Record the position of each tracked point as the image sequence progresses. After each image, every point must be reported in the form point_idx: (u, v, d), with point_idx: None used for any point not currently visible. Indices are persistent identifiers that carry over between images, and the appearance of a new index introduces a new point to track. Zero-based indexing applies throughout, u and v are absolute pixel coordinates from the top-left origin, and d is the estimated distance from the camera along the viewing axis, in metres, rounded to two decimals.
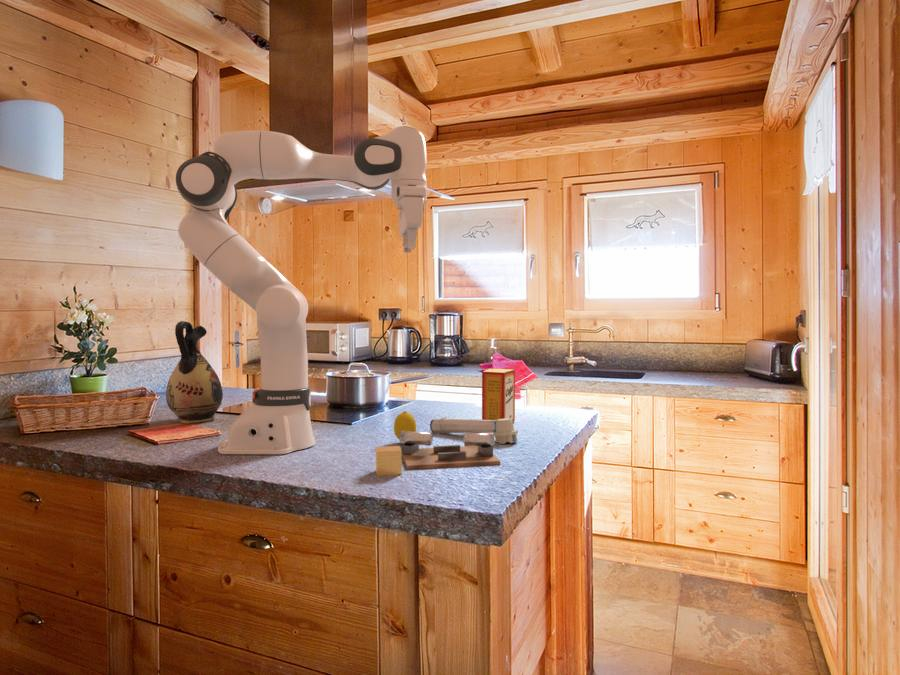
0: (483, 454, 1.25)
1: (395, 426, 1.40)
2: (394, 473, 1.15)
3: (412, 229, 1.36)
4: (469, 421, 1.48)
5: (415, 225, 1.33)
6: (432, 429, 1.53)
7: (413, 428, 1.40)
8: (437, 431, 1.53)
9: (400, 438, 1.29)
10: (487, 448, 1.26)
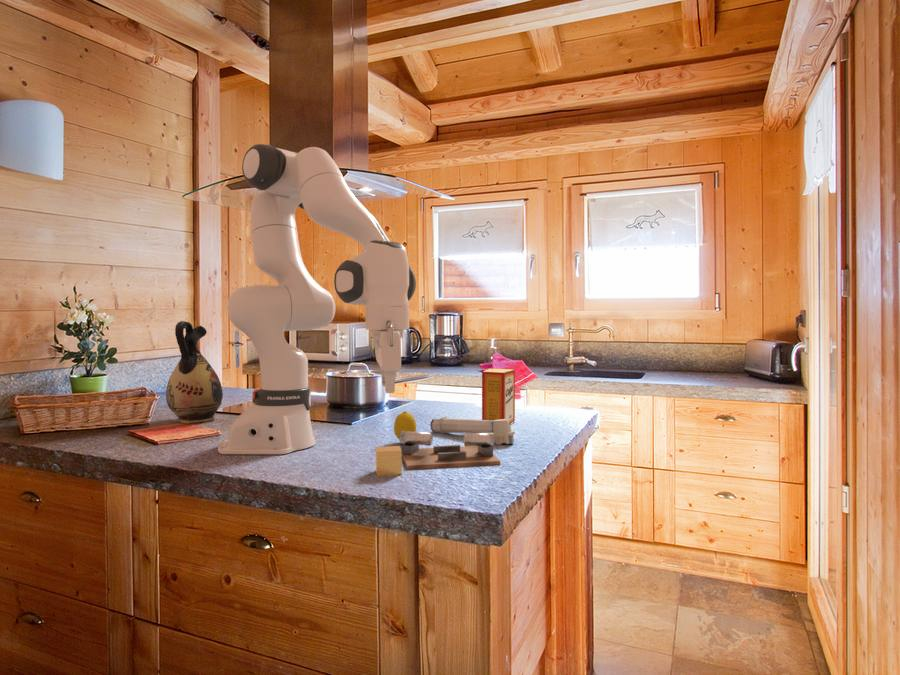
0: (483, 454, 1.25)
1: (395, 426, 1.40)
2: (394, 473, 1.15)
3: None
4: (467, 421, 1.47)
5: None
6: (432, 429, 1.54)
7: (413, 428, 1.40)
8: (437, 431, 1.53)
9: (400, 438, 1.29)
10: (487, 448, 1.26)
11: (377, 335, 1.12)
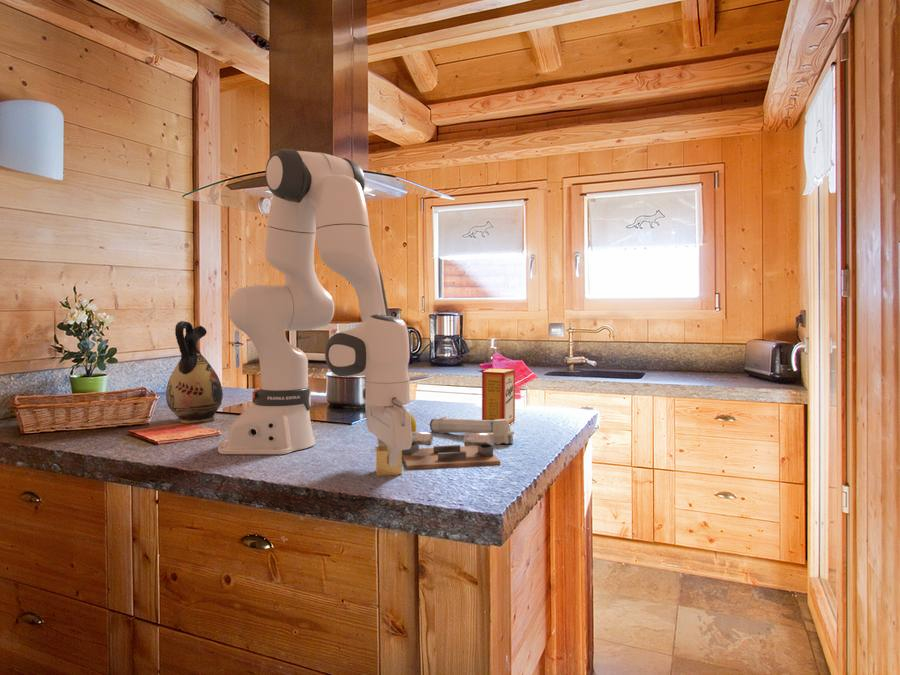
0: (483, 454, 1.25)
1: None
2: (394, 473, 1.15)
3: None
4: (467, 421, 1.47)
5: None
6: (432, 428, 1.54)
7: (413, 428, 1.40)
8: (437, 430, 1.53)
9: None
10: (487, 448, 1.26)
11: (380, 411, 1.13)
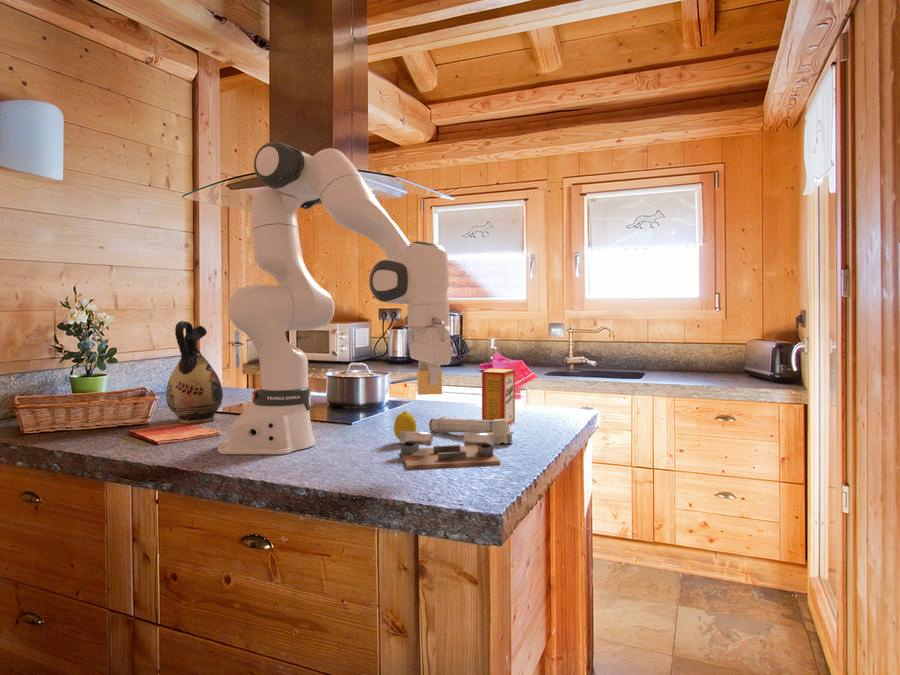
0: (483, 454, 1.25)
1: (395, 426, 1.40)
2: (435, 392, 1.20)
3: None
4: (466, 421, 1.48)
5: None
6: (431, 428, 1.54)
7: (413, 428, 1.40)
8: (436, 430, 1.54)
9: (400, 438, 1.29)
10: (487, 448, 1.26)
11: (421, 331, 1.18)
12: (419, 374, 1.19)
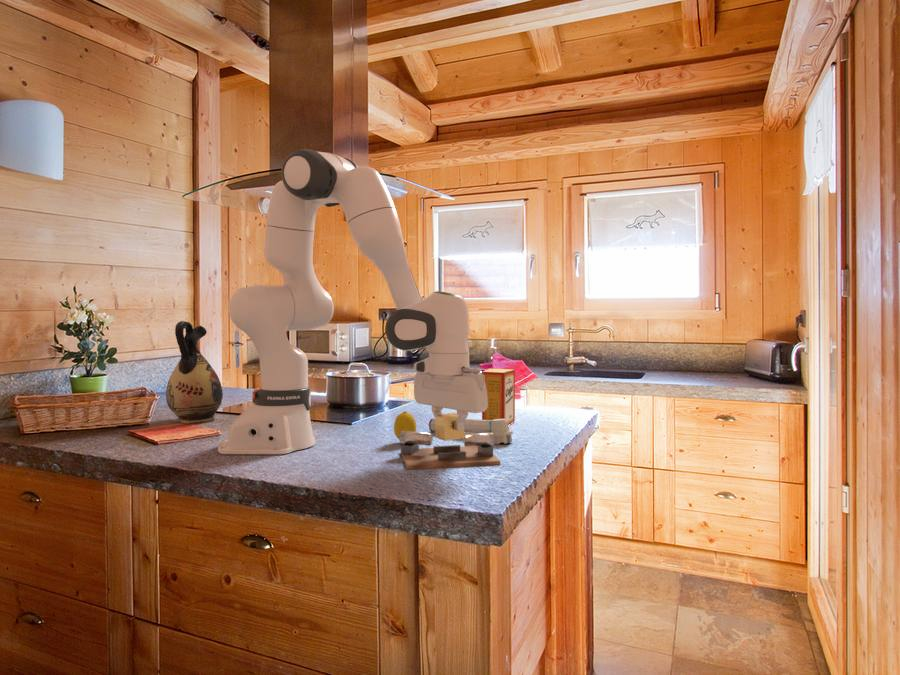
0: (483, 454, 1.25)
1: (395, 426, 1.40)
2: (458, 436, 1.25)
3: None
4: (466, 421, 1.48)
5: None
6: (431, 428, 1.54)
7: (413, 428, 1.40)
8: None
9: (400, 438, 1.29)
10: (487, 448, 1.26)
11: (449, 380, 1.22)
12: (445, 421, 1.23)
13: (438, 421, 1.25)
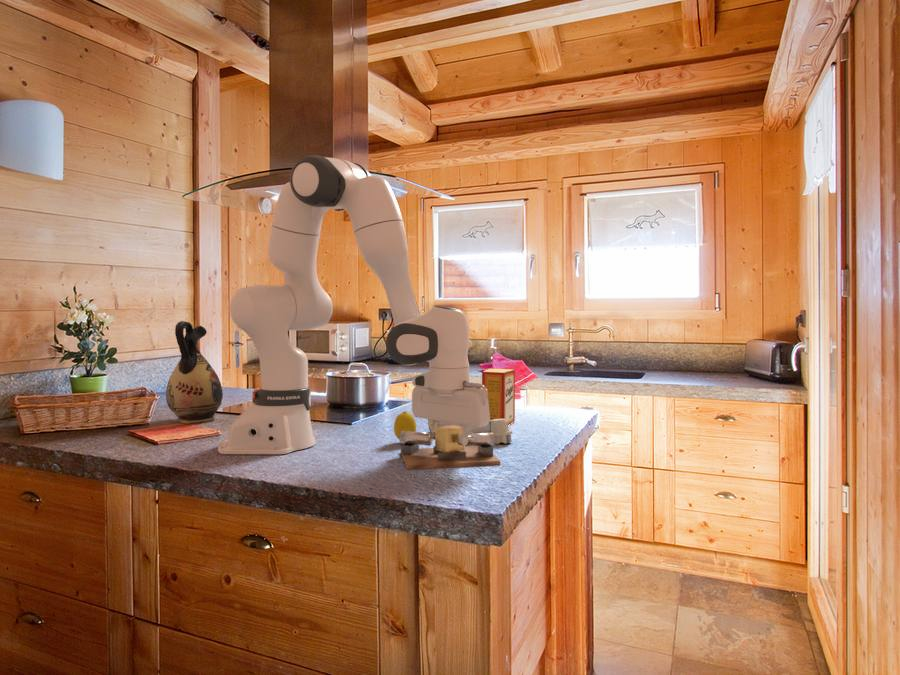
0: (483, 454, 1.25)
1: (395, 426, 1.40)
2: (458, 449, 1.25)
3: None
4: None
5: None
6: None
7: (413, 428, 1.40)
8: None
9: (400, 438, 1.29)
10: (487, 448, 1.26)
11: (450, 394, 1.22)
12: (447, 433, 1.23)
13: (438, 433, 1.25)
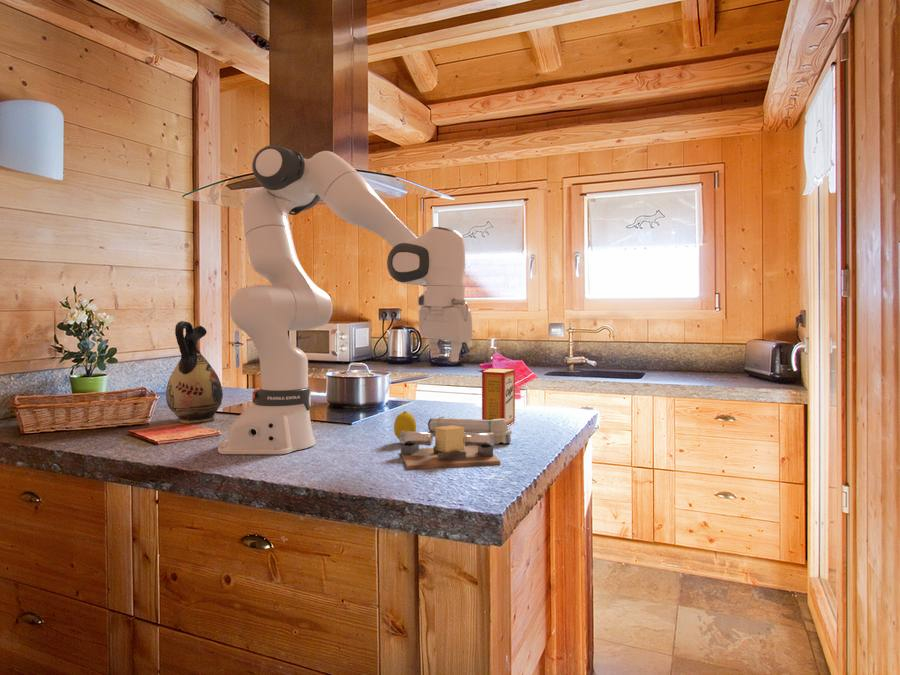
0: (483, 454, 1.25)
1: (395, 426, 1.40)
2: (458, 449, 1.25)
3: None
4: (465, 421, 1.48)
5: None
6: (430, 428, 1.54)
7: (413, 428, 1.40)
8: None
9: (400, 438, 1.29)
10: (487, 448, 1.26)
11: (441, 311, 1.28)
12: (447, 433, 1.23)
13: (438, 433, 1.25)
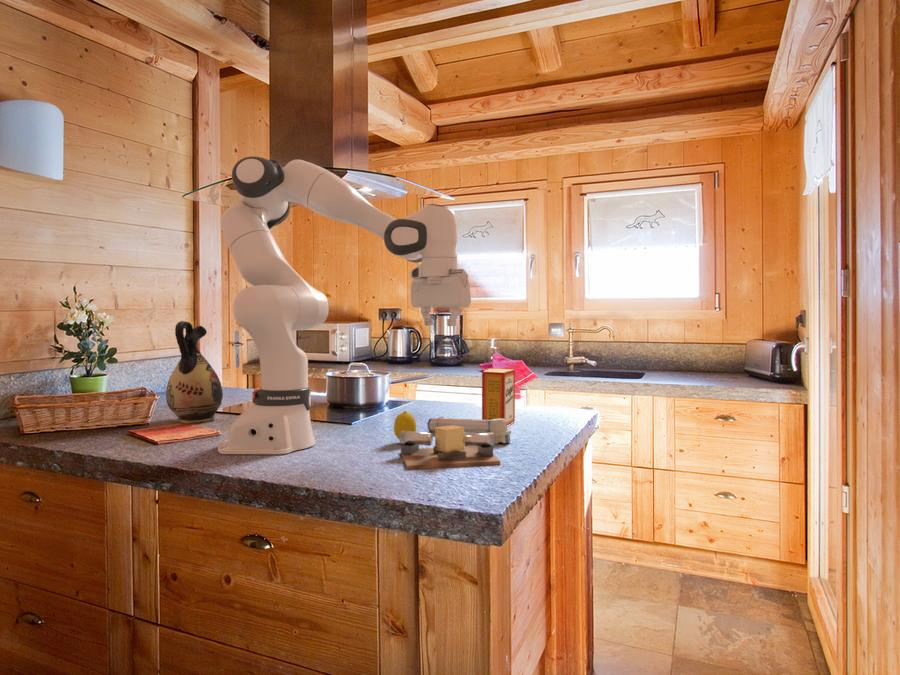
0: (483, 454, 1.25)
1: (395, 426, 1.40)
2: (458, 449, 1.25)
3: None
4: (464, 421, 1.48)
5: None
6: (429, 428, 1.54)
7: (413, 428, 1.40)
8: (434, 430, 1.54)
9: (400, 438, 1.29)
10: (487, 448, 1.26)
11: (438, 281, 1.40)
12: (447, 433, 1.23)
13: (438, 433, 1.25)
